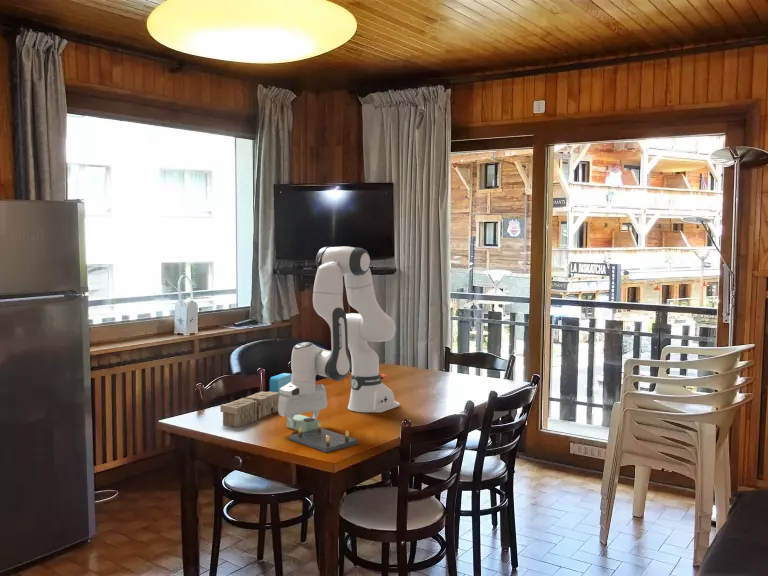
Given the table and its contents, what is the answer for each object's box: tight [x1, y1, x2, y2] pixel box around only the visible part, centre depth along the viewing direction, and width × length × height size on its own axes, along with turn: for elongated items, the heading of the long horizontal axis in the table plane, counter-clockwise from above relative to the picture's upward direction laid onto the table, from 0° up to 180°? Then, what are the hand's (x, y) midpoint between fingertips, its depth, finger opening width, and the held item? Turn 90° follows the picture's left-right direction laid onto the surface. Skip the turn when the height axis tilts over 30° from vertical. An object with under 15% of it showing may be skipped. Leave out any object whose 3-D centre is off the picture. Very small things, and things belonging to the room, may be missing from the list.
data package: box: [269, 372, 292, 397], centre depth 300 cm, size 12×4×12 cm, turn 155°
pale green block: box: [286, 413, 321, 432], centre depth 262 cm, size 6×12×5 cm, turn 44°
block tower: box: [219, 390, 279, 428], centre depth 277 cm, size 8×8×29 cm
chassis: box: [289, 421, 359, 453], centre depth 245 cm, size 14×20×4 cm
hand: (303, 424), depth 262 cm, fingers open, 8 cm apart
